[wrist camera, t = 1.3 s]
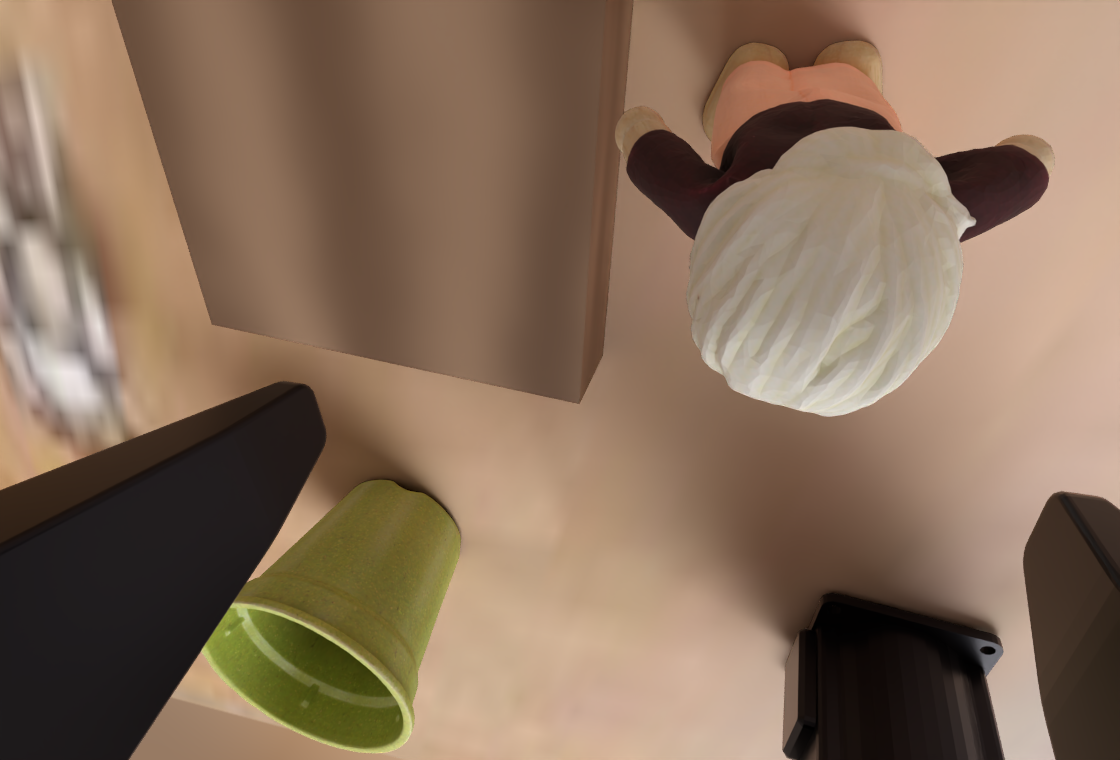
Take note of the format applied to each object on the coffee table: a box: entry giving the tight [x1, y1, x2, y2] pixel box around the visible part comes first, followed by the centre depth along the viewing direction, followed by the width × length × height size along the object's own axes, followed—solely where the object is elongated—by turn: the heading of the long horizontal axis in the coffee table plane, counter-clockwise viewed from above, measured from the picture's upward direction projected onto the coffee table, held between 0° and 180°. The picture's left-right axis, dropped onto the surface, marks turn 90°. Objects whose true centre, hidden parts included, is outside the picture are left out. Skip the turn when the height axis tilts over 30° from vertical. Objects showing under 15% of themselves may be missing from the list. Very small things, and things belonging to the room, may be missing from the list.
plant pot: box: [201, 480, 461, 753], centre depth 29 cm, size 9×9×9 cm
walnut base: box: [112, 0, 633, 404], centre depth 20 cm, size 14×14×3 cm
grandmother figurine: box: [615, 40, 1055, 417], centre depth 12 cm, size 8×4×13 cm, turn 103°
